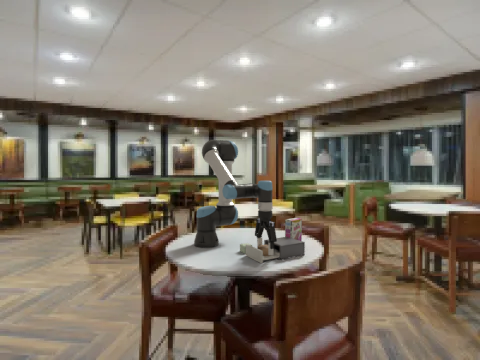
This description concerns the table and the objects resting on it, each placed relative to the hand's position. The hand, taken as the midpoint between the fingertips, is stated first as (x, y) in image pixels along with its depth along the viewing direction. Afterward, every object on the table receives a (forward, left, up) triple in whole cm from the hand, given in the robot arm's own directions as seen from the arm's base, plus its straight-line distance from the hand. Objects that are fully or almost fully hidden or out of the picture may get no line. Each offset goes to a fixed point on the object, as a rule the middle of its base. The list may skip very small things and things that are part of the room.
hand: (265, 252), depth 154 cm
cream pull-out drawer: (0, 0, -3) cm, 3 cm away
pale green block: (-14, -3, -3) cm, 15 cm away
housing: (0, +13, -3) cm, 13 cm away
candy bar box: (-10, +28, -3) cm, 29 cm away
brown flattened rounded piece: (0, 0, -1) cm, 1 cm away
